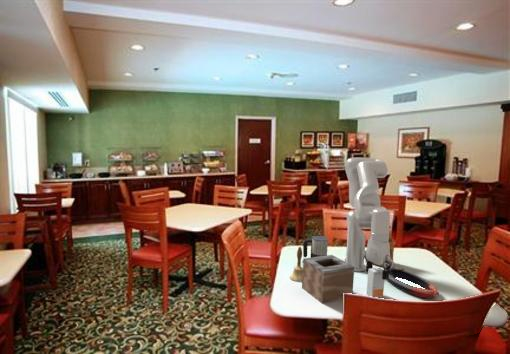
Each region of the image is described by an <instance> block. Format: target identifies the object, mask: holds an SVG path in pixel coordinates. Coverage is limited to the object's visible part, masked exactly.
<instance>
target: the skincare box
mask: <svg viewBox="0 0 510 354" xmlns="http://www.w3.org/2000/svg"><path fill="white" fill-rule="evenodd" d="M383 270H384V269H383V268H381V267H373V268H372V269H368V272H367V281H366V295H368V297H370V296H374V297H373V298H383V297H384V289H385V280H383V279H382V272H383Z"/></svg>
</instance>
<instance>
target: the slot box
mask: <svg viewBox="0 0 510 354" xmlns="http://www.w3.org/2000/svg"><path fill="white" fill-rule="evenodd" d="M302 261H303V263H302V268H303V275H302V282H301V289H303V290H304V291H306V293H308V294H309V295H311V296H312V297H313V298H314V299H316V300H317V301H318V302H320V303H321V304H327V303H332V302H336V301H341V300H344V299H343V293H353V294H354V292H353V291H354V278H355V277H354V275H355V271H354V266H352V265H350V264H348V263H346V262H345V260H344V259H343V260H342V259H341V258H339V257H337V256H335V255H334V254H327V256H319V257H312V258H311V257H304V258H303V260H302Z"/></svg>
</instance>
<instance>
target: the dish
mask: <svg viewBox="0 0 510 354" xmlns="http://www.w3.org/2000/svg"><path fill="white" fill-rule="evenodd" d="M396 277H398V278H402V279H406V280H408V281H411V282H413V283H415V284H418V285H420V286H421V287H423V288H425V289H422V288H417V287H413V286H410V285H408V284H405V283H403V282H401V281H399V280H397V279H395V278H396ZM386 280H387V282H388V283H390V284H391V285H393V287H395V288H398V289H399V290H401V291H403V292H404V293H407V294H409V293H410V295H412V294H413V295H412V296H416V297H420V296H421V297H420V298H426V299H427V298H429V299H430V298H435V297H437V296H439V295H440V292H439V290H438V288H437V287H436V286H435V285H434V283H432V282H430V281H428V280H427V279H425V278H423V277H421V276H418V275H416V274H414V273H412V272H410V271H407V270H405V269H404V268H401V269H400V268H395V267H393V268H392V269H391V270H389V279H386Z"/></svg>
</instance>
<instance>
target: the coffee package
mask: <svg viewBox="0 0 510 354" xmlns="http://www.w3.org/2000/svg"><path fill="white" fill-rule="evenodd" d="M391 228H392V227H391V224H389V240H388V242H389V245H390V258H391V260H392V261H393V262H394V250H395V241H394V239H393V236H392V233H391V230H390V229H391ZM373 265H375V266H380V267H382V265H378V264H375V263H373Z"/></svg>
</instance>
